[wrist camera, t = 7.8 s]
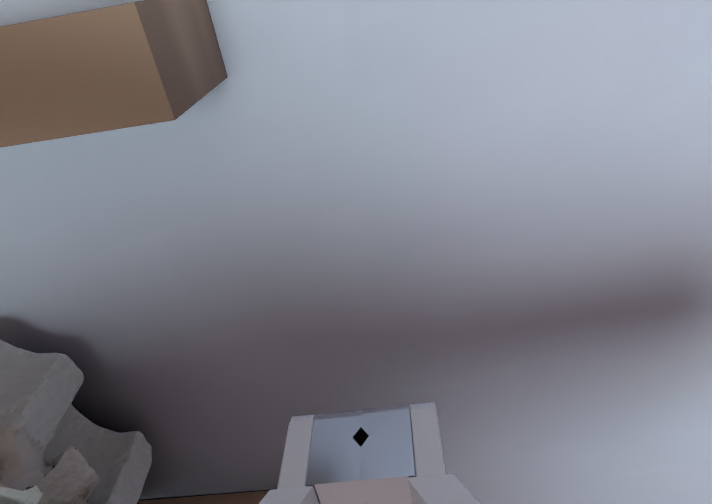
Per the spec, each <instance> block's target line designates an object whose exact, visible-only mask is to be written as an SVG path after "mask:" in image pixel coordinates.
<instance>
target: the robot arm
mask: <svg viewBox="0 0 712 504" xmlns="http://www.w3.org/2000/svg"><path fill="white" fill-rule="evenodd" d="M259 504H481V503H480V502H479V501H478V500H477V499H476V498H475V496H474V495H473V494H472V493H471V492H470V491H469V490H468V489H467V488H466V486H465V485H464V484H463V483H462V482H461V481H460V480H459V479H458V478H457V476H456V475H455V474H446V469H445V462H444V456H443V449H442V443H441V436H440V429H439V423H438V416H437V409H436V405H435V402H429V403H420V404H411V405H410V404H408V405H399V406H391V407H382V408H374V409H365V410H362V411H350V412H337V413H325V414H315V415H303V416H292V418H291V420H290V422H289V425H288V430H287V436H286V442H285V447H284V453H283V458H282V464H281V470H280V475H279V481H278V486H277V489H272V490H269V492H268V493H267V494H266V495H265V496H264V498H263V499H262V500H261V501H260V503H259Z"/></svg>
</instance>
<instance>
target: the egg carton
mask: <svg viewBox="0 0 712 504" xmlns="http://www.w3.org/2000/svg"><path fill="white" fill-rule="evenodd" d="M83 381H84V375H83V372H82V371H81V370H80V369H79V368H78V367H77V366H76V365H75V363H74V362H73V361H72V360H71V359H70V358H69V357H68V356H67V355H65V354H61V353H34V352H31V351H28V350H24V349H22V348H18V347H15V346H13V345H11V344H9V343H7V342H5V341H2V340H1V339H0V504H137V502H138V500H139V498H140V496H141V493H142V489H143V486H144V483H145V480H146V477H147V475H148V472H149V469H150V467H151V464H152V446H151V445H150V444H149V443H148V442H147V441H146V439H145V437H144V435H143V434H142V433H141V432H139V431H131V432H123V433H118V432H115V431H112V430H109V429H106V428H102V427H100V426H98V425H96V424H94V423H93V422H91V421H90V420H88V419H87V418H86V417H84V416H83V415H82V414H81V413H80V412H78V411H77V410H76V409H75V408H74V407H73V405H72V404H71V403H72V401H73V399H74V397H75V395H76V393H77V392H78V390H79V388H80V387H81V385H82V383H83Z"/></svg>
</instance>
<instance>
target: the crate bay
mask: <svg viewBox="0 0 712 504" xmlns="http://www.w3.org/2000/svg"><path fill="white" fill-rule="evenodd" d="M225 78H227V74H226V71H225V67H224V64H223V60H222V56H221V53H220V49H219V46H218V42H217V39H216V35H215V31H214V28H213V24H212V21H211V17H210V14H209V10H208V6H207V3H206V0H144V1H138V2H133V3H127V4H122V5H116V6H111V7H105V8H100V9H94V10H89V11H84V12H78V13H73V14H67V15H62V16H56V17H51V18H45V19H40V20H34V21H29V22H23V23H18V24H12V25H7V26H1V27H0V147H6V146H12V145H19V144H25V143H31V142H38V141H44V140H50V139H57V138H63V137H70V136H76V135H82V134H89V133H95V132H101V131H108V130H114V129H120V128H127V127H133V126H140V125H146V124H152V123H159V122H165V121H171V120H176V119H177V118H178V117H179V116H180V115H182V114H183V113H184V112H185V111H186V110H188V109H189V108H190V107H191V106H193V105H194V104H195V103H196V102H197V101H199V100H200V99H201V98H202V97H204V96H205V95H206V94H207V93H208V92H210V91H211V90H212V89H213V88H214V87H216V86H217V85H218V84H219V83H221V82H222V81H223V80H224V79H225ZM268 492H269V491H257V492H244V493H232V494H219V495H207V496H194V497H182V498H169V499H156V500H144V501H138V502H137V504H259V503H260V501H261V500H262V499H263V498H264V496H265V495H266V494H267V493H268Z"/></svg>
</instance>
